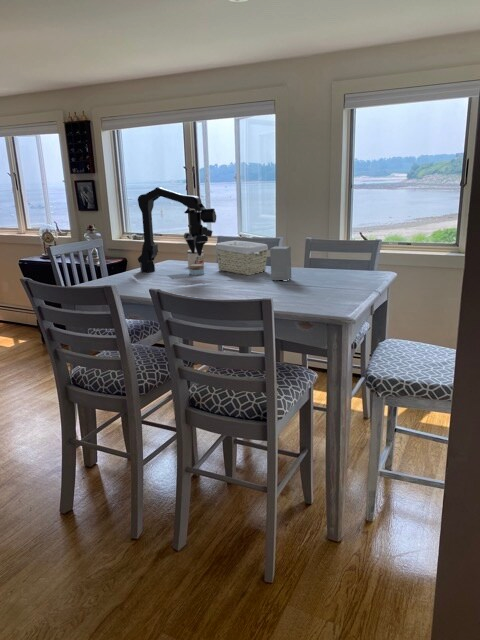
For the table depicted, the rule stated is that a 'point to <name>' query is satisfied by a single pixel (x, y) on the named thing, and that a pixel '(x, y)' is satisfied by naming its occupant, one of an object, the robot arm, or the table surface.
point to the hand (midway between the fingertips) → (196, 254)
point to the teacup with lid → (195, 258)
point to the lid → (196, 267)
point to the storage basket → (242, 257)
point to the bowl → (196, 272)
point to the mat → (179, 276)
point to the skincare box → (280, 263)
